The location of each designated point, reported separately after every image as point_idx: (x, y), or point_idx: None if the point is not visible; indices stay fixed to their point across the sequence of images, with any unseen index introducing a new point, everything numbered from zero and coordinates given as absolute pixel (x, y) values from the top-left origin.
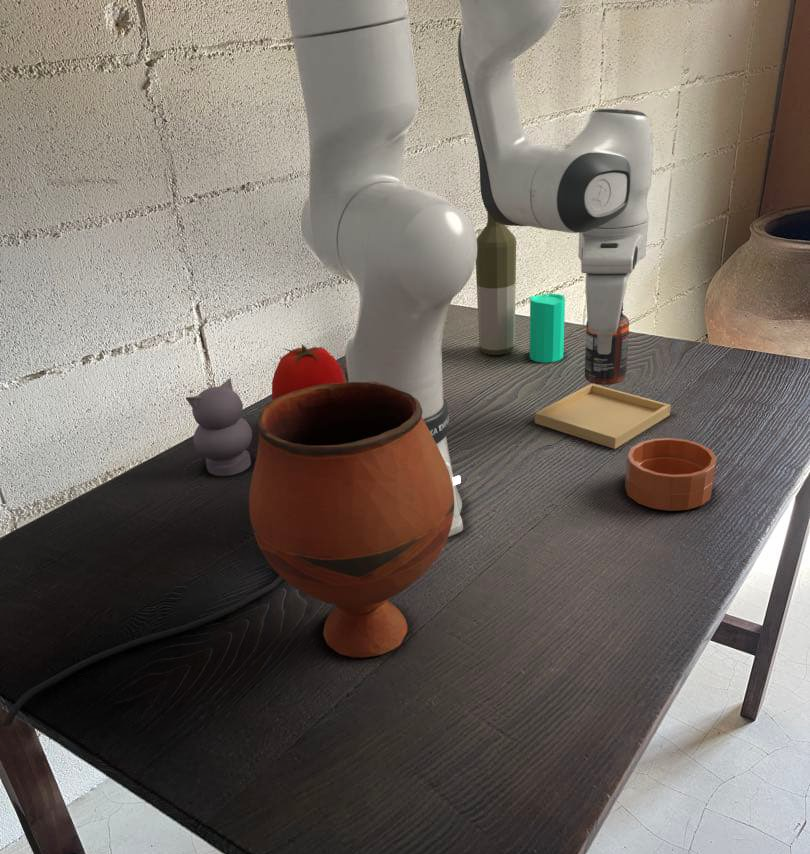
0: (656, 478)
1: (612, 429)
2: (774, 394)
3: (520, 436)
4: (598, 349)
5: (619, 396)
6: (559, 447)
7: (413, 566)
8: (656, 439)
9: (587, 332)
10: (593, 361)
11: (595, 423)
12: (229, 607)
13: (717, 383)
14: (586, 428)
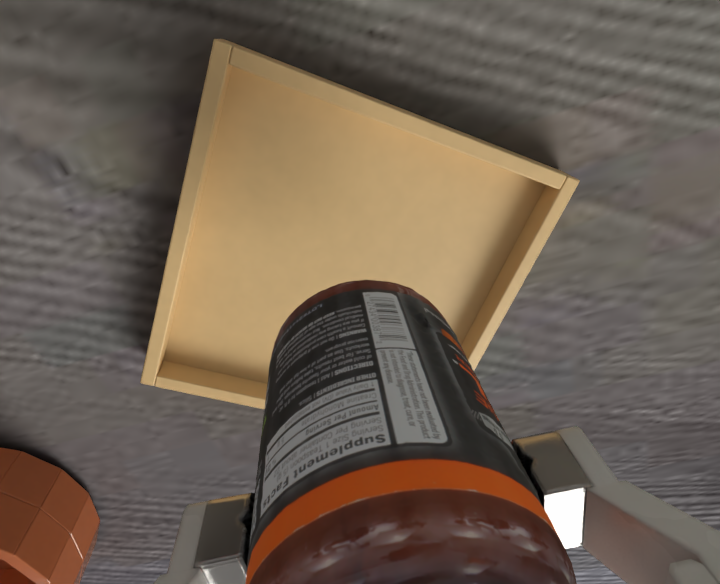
0: None
1: (257, 330)
2: (587, 558)
3: (72, 19)
4: (182, 525)
5: (495, 293)
6: (69, 206)
7: None
8: (14, 561)
9: (310, 485)
10: (267, 404)
11: (281, 272)
12: None
13: (651, 463)
14: (165, 286)
